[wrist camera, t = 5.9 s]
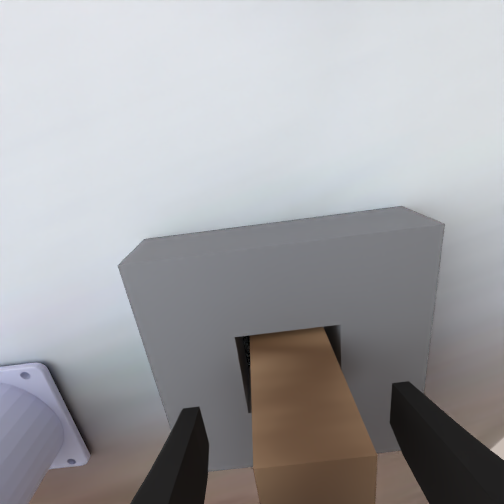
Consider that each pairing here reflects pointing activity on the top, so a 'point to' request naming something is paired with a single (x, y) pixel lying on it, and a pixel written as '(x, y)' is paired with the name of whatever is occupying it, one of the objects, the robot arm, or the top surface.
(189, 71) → the top surface
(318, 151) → the top surface
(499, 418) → the top surface
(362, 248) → the socket block
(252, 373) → the peg
